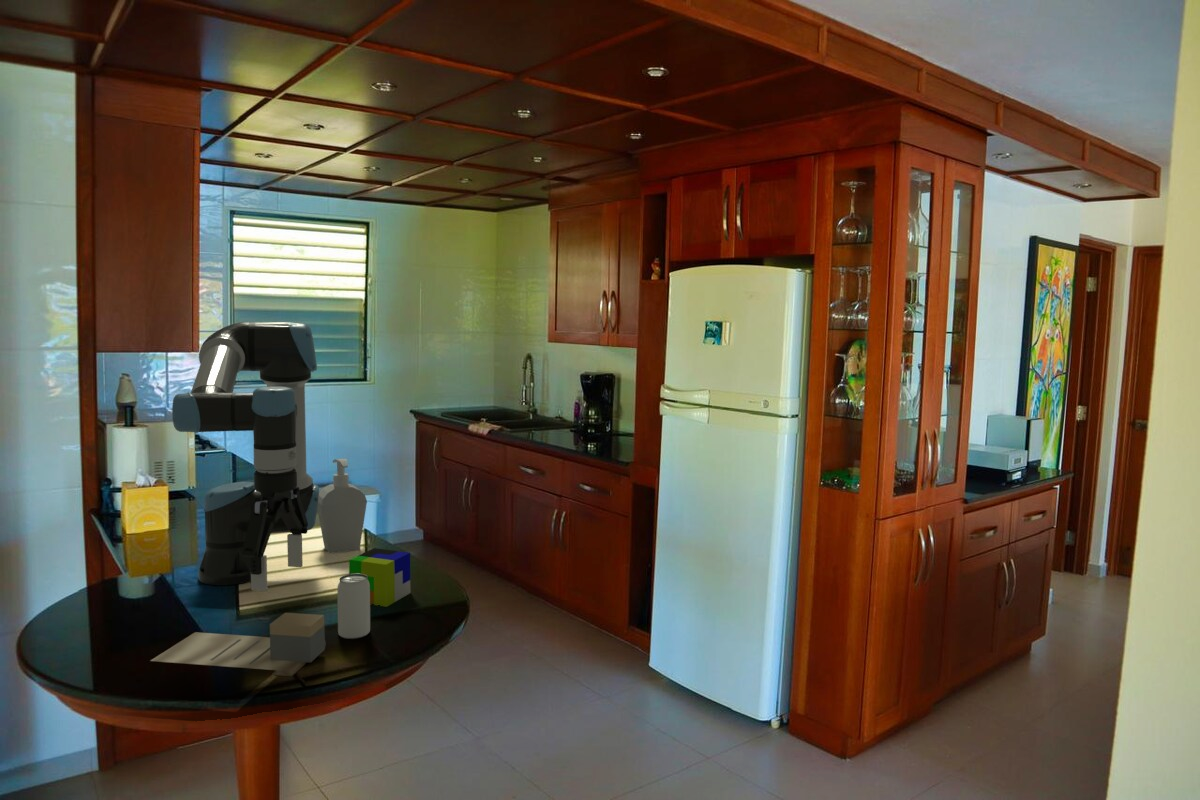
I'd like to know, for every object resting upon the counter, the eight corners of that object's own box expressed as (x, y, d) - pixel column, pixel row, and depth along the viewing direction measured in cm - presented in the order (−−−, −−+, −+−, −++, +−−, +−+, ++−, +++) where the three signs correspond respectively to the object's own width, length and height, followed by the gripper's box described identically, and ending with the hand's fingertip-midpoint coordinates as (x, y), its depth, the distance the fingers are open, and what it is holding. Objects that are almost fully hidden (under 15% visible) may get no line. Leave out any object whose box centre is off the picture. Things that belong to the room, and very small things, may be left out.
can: (342, 627, 173) (341, 573, 172) (372, 627, 174) (372, 572, 172) (334, 639, 167) (333, 583, 165) (366, 639, 167) (366, 582, 166)
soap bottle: (323, 556, 222) (322, 463, 220) (316, 547, 231) (314, 457, 228) (369, 551, 228) (368, 460, 226) (360, 542, 237) (359, 454, 234)
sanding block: (270, 659, 154) (269, 624, 154) (286, 646, 160) (285, 612, 160) (310, 662, 153) (310, 626, 153) (324, 649, 159) (324, 615, 159)
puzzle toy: (410, 593, 195) (410, 552, 194) (386, 607, 186) (386, 564, 185) (374, 588, 199) (374, 548, 198) (349, 601, 189) (349, 559, 188)
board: (150, 665, 153) (149, 660, 153) (195, 636, 167) (195, 632, 167) (291, 676, 150) (291, 671, 150) (325, 645, 164) (325, 641, 163)
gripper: (259, 484, 141) (262, 602, 143) (324, 457, 165) (325, 558, 168) (218, 482, 142) (222, 599, 144) (289, 455, 166) (291, 556, 169)
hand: (278, 577), depth 156 cm, fingers open, 13 cm apart
